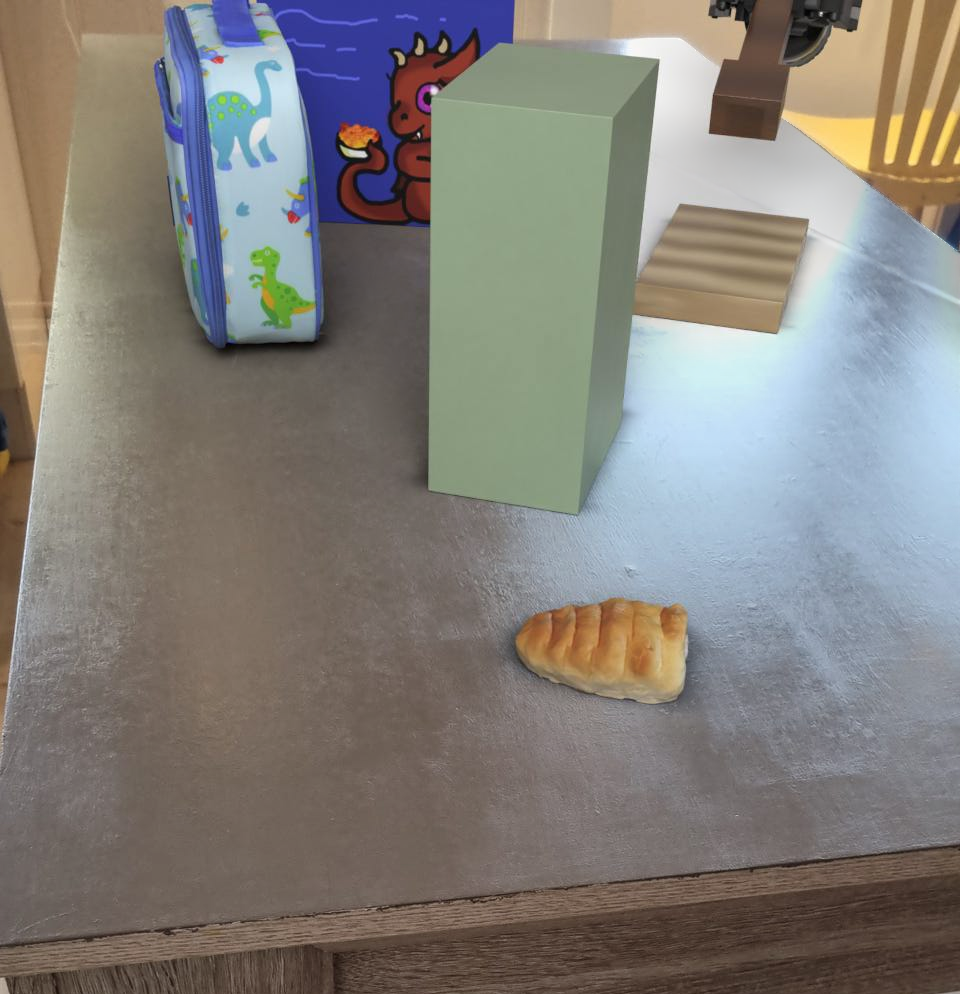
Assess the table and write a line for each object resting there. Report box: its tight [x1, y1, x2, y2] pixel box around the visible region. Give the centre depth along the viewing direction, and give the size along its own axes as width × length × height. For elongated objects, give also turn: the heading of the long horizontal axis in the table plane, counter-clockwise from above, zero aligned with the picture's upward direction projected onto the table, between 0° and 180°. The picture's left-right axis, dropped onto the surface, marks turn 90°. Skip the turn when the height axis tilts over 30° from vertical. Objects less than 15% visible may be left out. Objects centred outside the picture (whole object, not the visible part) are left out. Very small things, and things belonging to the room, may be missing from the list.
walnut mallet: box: [708, 0, 794, 142], centre depth 106 cm, size 22×5×3 cm, turn 166°
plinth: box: [427, 43, 661, 516], centre depth 85 cm, size 14×10×23 cm
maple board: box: [633, 202, 810, 334], centre depth 119 cm, size 22×12×2 cm, turn 164°
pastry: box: [514, 596, 689, 705], centre depth 73 cm, size 9×7×4 cm
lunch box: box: [153, 0, 325, 349], centre depth 104 cm, size 26×11×21 cm, turn 12°
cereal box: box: [255, 0, 516, 228], centre depth 119 cm, size 22×6×30 cm, turn 88°
